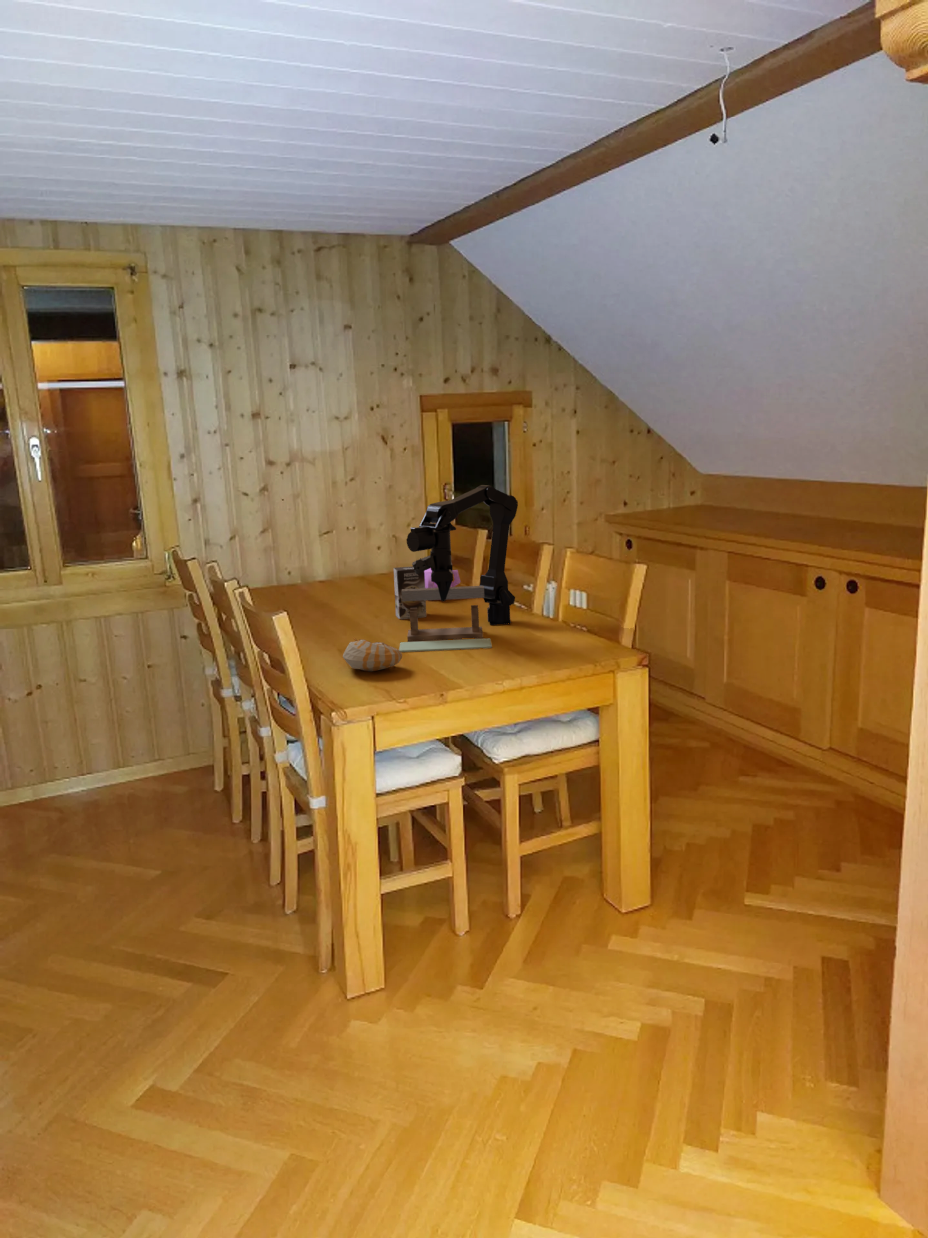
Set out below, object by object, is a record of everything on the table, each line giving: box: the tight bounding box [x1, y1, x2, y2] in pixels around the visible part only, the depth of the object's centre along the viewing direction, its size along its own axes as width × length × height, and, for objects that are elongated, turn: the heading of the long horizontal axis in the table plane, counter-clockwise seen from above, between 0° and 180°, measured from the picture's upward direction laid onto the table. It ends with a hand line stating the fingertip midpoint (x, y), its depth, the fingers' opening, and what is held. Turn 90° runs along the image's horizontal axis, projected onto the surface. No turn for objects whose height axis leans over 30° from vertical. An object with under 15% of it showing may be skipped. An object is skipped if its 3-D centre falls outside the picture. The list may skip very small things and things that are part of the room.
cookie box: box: [393, 565, 427, 620], centre depth 302 cm, size 9×6×16 cm
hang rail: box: [401, 585, 484, 601], centre depth 273 cm, size 24×3×3 cm, turn 91°
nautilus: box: [342, 637, 403, 672], centre depth 247 cm, size 8×22×15 cm
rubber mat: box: [398, 638, 493, 653], centre depth 266 cm, size 26×9×1 cm, turn 91°
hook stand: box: [406, 604, 484, 642], centre depth 275 cm, size 22×8×8 cm, turn 91°
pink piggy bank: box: [424, 568, 461, 588], centre depth 330 cm, size 18×17×12 cm
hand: (443, 600), depth 274 cm, fingers closed on hang rail, 3 cm apart
